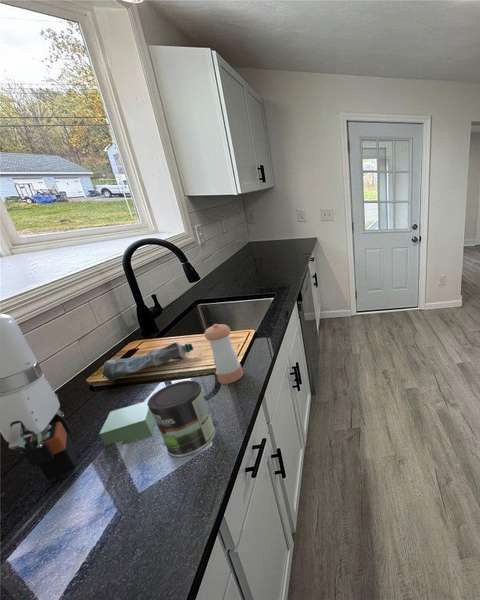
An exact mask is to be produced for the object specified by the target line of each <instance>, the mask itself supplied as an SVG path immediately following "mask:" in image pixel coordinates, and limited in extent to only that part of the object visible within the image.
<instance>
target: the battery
mask: <svg viewBox="0 0 480 600" xmlns="http://www.w3.org/2000/svg"><path fill="white" fill-rule="evenodd" d="M31 433H34V432H33V431H31ZM41 433H42V440H43V444H45V443H47V445H48V447H49V449H50V450H51V452H52V454H53V456H54V459H53V460H52V461H48V462H45V463H42V464H39V465H37V466H38V468H39V469H40V471H41V473H42V475H43V476H44V478H45V479H46V480H47V481H51V480H53V479H56V478H58V477H61V476H63V475H65V474H68V473H70V472H71V471H74V470H75V469H76V466H77V449H76V447H75V446H74V444H73V442H72V440H71V438H70V436H69V433H68V434H67V432H66V431H65V429H64V427H63V425H62V423H61V422H56V423H53V424H50V425H49V424H48V425H47V426H46V428H45V429H44V430H43V431H42V432H41ZM29 442H35V439H34V436H31V437H30V439H29Z"/></svg>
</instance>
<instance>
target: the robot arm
mask: <svg viewBox="0 0 480 600" xmlns="http://www.w3.org/2000/svg"><path fill="white" fill-rule="evenodd" d="M61 407H62V406H61V403H60V401H59V395H58V393H55V391H54V389H53V388H52V386H51V385H50V383H49V382H48V381H47V379H46V378H45V373H44V371H43V370H42V368H41V366H40V364H39V362H38V360H37V358H36V356H35V355H34V352H33V351H32V349H31V346H30V345H29V343H28V341H27V339H26V337H25V336H24V334H23V331H22V329H21V328H20V326H19V324H18V322H17V321H16V319H15V318H14V317H12V316H11V315H9V314H4V313H1V314H0V434H1V435H2V437H3V439H4V440H5V441H6V442H7V443H8V448H9V450H11V451H12V450H13V451H16V452H17V453H20V454H24V457H25V458H26V460H27V461H28V462H29V463H28V464H29V465H30V466H32V467H36V466H38V465H39V464H42V463H45V462H48V461H52V460H53V459H54V456H53V454H52V452H51V450H50V449H49V447H48V445H47V443H45V444H43V440H42V433H41V432H42V431H43V430H44V429H45V428H46V426H47V425H48V424H49V425H50V424H53V423H56V422H61V423H62V425H63V427H64V429H65V431H66V432H67V434H68V435H69V434H70V432H71V431H72V430H71V428H70V426H69V424H68V421H67V420H66V418H65V417H64V411H62V410H61ZM25 432H31V433H27V434H25ZM32 432H34V433H32ZM31 436H34V439H35V442H30V441H27V439H28V438H31Z"/></svg>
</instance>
